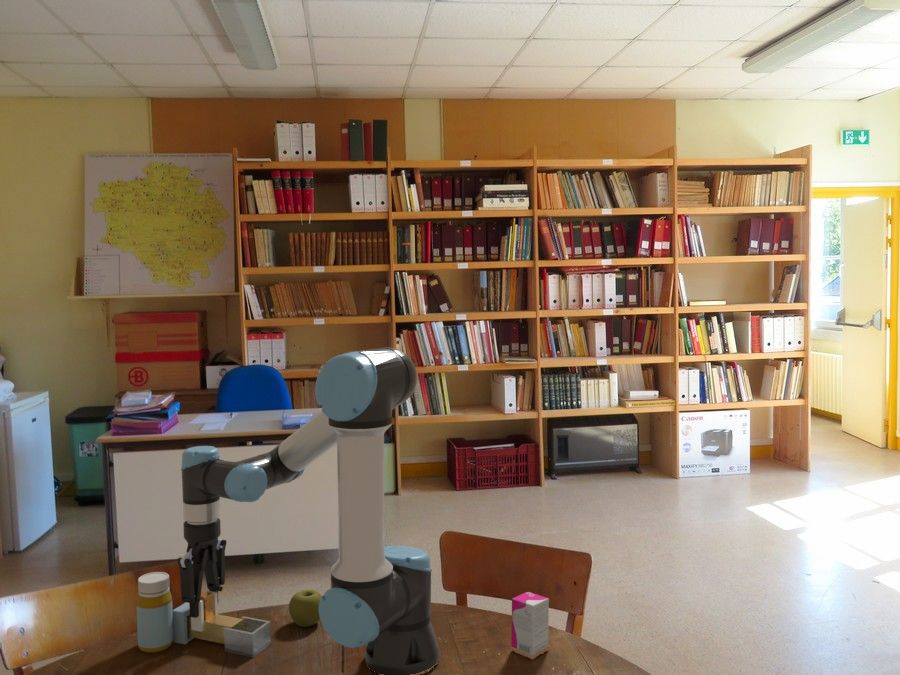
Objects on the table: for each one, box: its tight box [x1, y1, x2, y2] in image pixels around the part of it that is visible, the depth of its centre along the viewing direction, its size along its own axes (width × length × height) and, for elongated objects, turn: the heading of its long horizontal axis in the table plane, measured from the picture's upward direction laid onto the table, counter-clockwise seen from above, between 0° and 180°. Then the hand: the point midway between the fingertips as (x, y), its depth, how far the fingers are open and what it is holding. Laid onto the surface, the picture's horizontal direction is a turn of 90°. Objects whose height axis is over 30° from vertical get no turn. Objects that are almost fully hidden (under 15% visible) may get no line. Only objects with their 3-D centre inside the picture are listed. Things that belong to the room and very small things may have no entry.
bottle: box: [136, 571, 174, 654], centre depth 166 cm, size 7×7×15 cm
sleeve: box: [224, 616, 272, 659], centre depth 166 cm, size 7×6×5 cm
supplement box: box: [510, 591, 550, 655], centre depth 164 cm, size 6×6×12 cm
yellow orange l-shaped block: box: [187, 590, 244, 645], centre depth 168 cm, size 13×4×9 cm, turn 69°
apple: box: [288, 589, 323, 628], centre depth 177 cm, size 8×8×7 cm
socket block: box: [172, 602, 195, 645], centre depth 171 cm, size 3×7×7 cm, turn 159°
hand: (204, 625), depth 169 cm, fingers closed on yellow orange l-shaped block, 4 cm apart
